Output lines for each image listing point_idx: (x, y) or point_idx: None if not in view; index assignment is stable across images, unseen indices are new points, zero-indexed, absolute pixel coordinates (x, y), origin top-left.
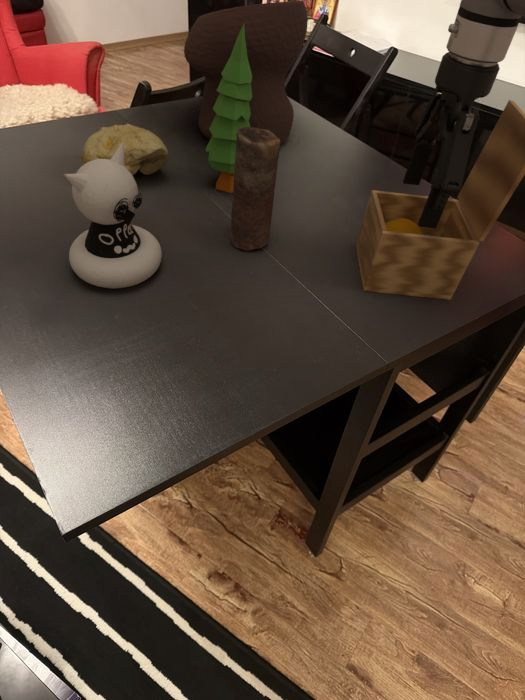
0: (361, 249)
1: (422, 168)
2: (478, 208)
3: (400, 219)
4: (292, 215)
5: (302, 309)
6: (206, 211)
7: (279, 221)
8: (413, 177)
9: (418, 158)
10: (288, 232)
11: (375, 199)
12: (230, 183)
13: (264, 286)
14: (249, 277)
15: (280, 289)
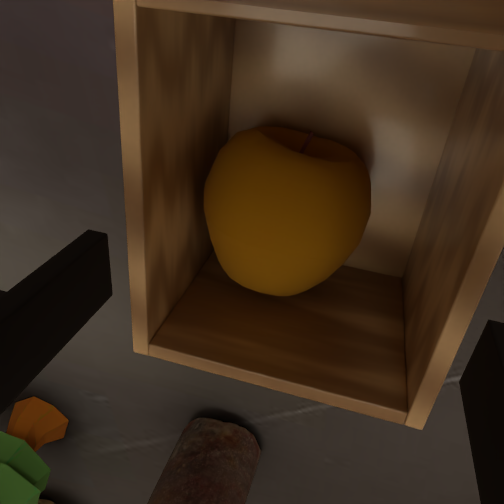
0: None
1: (55, 288)
2: (397, 15)
3: (235, 245)
4: (113, 340)
5: (457, 420)
6: (141, 467)
7: (143, 370)
8: (90, 283)
9: (26, 352)
10: (181, 366)
11: (196, 366)
12: (49, 431)
13: (371, 454)
14: (341, 466)
15: (384, 434)
